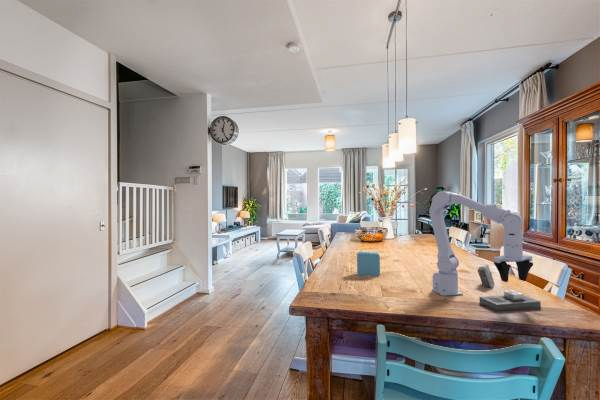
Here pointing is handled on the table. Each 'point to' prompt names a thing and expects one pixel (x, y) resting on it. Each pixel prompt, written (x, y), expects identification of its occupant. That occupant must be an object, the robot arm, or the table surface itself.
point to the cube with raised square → (513, 296)
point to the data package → (368, 263)
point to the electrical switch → (486, 276)
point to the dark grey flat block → (509, 303)
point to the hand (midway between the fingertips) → (513, 280)
